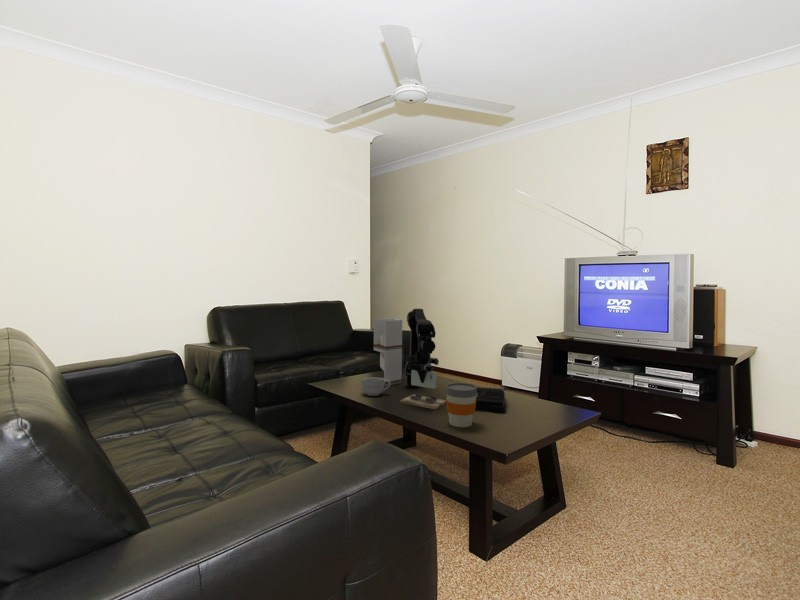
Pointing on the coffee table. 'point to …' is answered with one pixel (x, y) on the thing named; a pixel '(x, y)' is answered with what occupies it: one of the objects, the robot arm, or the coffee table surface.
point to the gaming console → (490, 400)
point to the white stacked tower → (389, 348)
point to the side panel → (423, 401)
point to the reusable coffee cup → (461, 403)
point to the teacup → (374, 386)
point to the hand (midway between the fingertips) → (423, 382)
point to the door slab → (428, 382)
